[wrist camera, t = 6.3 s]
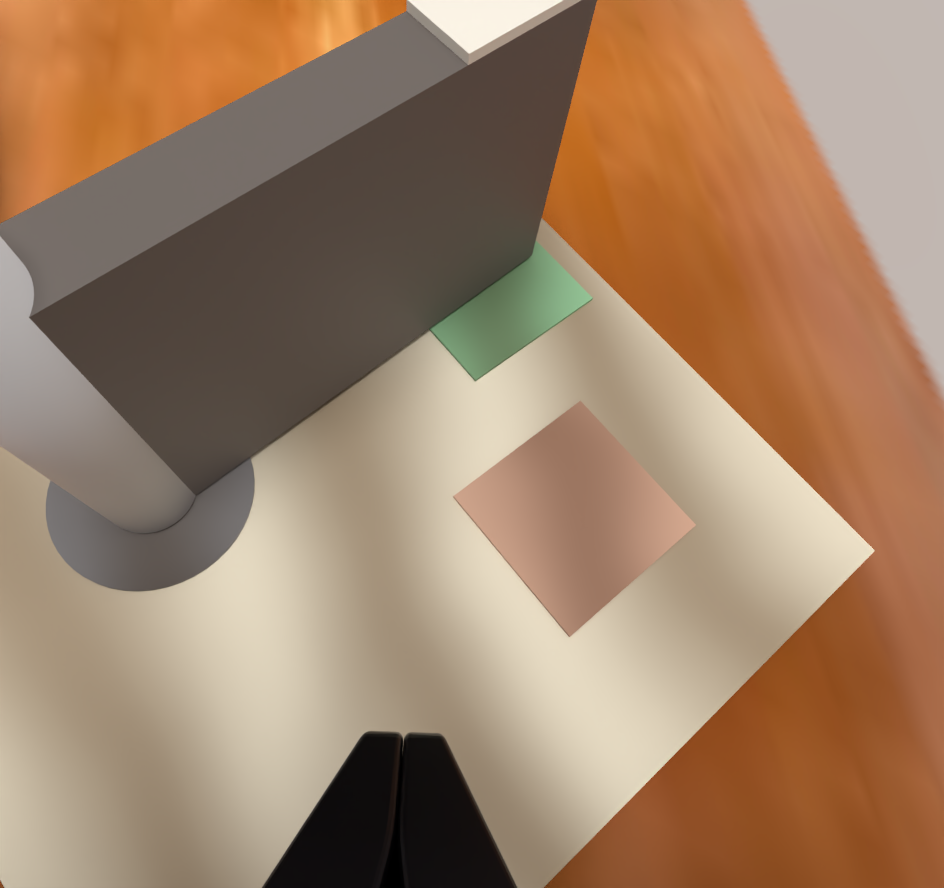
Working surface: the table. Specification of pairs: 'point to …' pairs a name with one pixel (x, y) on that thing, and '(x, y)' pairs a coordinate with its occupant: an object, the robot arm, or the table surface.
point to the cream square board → (406, 601)
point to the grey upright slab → (277, 250)
